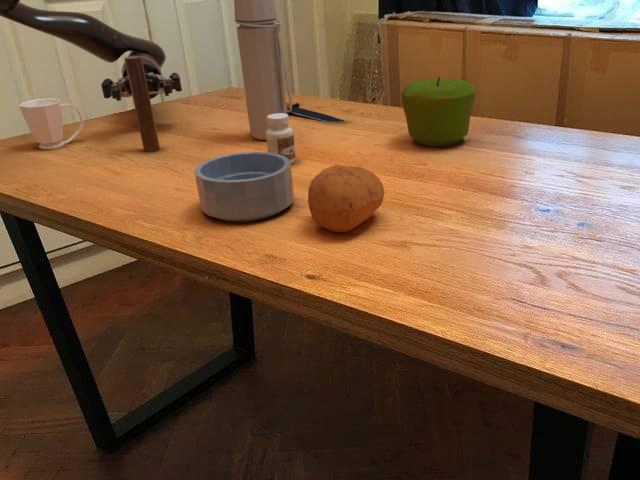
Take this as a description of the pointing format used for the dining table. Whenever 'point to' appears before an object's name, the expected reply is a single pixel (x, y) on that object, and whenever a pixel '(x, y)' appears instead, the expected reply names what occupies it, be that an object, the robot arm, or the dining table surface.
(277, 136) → the pill bottle
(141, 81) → the stick
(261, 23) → the water bottle
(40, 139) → the cup
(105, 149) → the dining table surface
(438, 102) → the apple
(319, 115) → the knife
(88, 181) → the dining table surface
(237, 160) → the bowl
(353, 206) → the potato
